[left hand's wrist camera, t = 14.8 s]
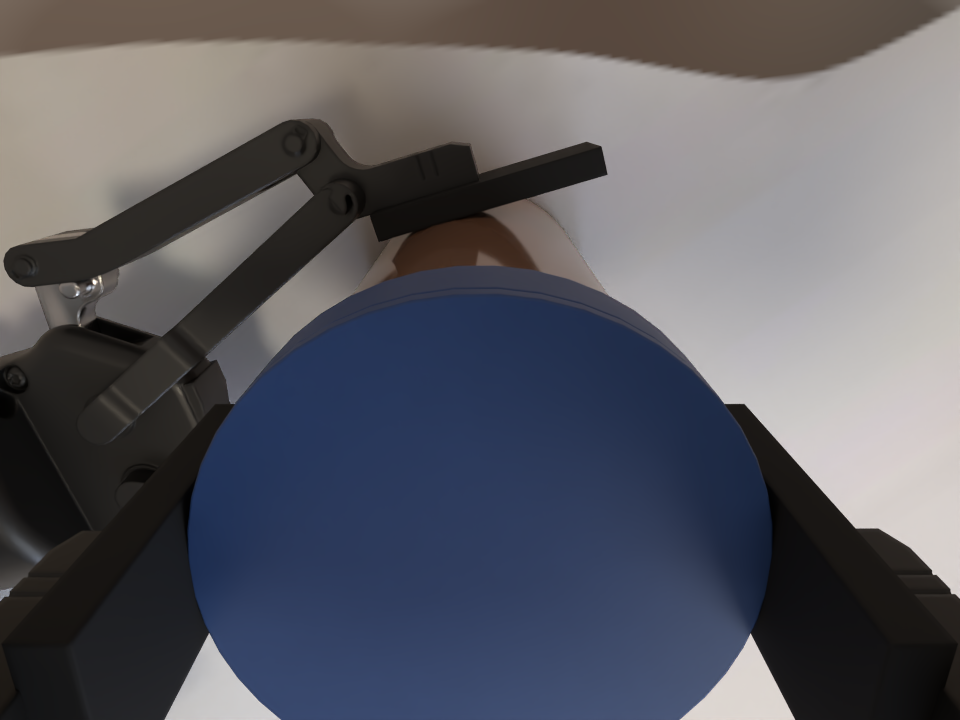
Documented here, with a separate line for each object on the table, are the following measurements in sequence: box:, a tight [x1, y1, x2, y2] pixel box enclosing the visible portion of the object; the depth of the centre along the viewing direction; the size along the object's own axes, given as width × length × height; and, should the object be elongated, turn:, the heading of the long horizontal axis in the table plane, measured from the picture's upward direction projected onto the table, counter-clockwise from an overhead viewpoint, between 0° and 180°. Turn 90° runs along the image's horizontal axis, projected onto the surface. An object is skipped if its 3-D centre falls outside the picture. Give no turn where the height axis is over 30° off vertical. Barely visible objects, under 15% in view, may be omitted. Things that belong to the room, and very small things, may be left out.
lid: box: [187, 266, 772, 720], centre depth 12 cm, size 9×9×2 cm
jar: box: [353, 199, 609, 296], centre depth 19 cm, size 8×8×17 cm
